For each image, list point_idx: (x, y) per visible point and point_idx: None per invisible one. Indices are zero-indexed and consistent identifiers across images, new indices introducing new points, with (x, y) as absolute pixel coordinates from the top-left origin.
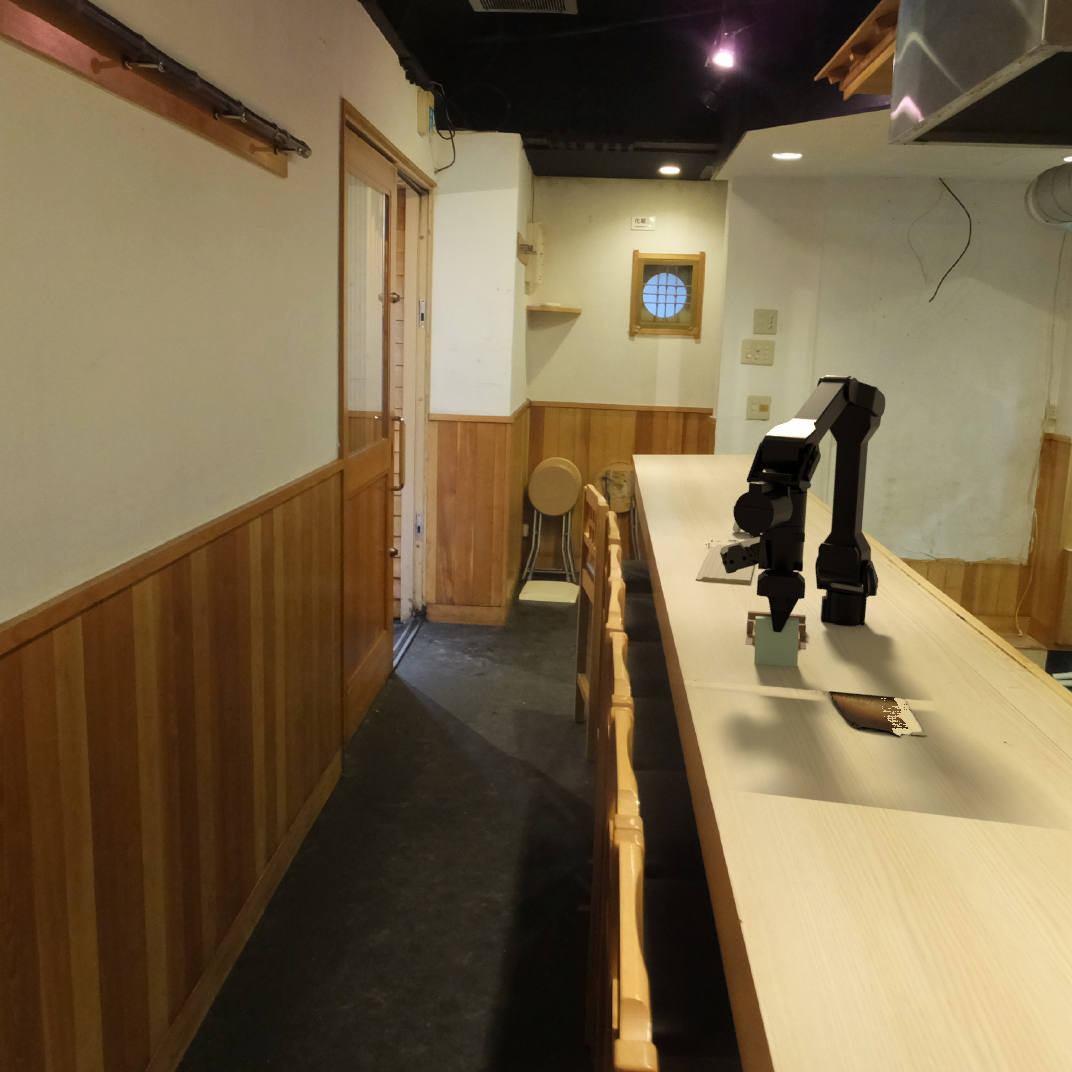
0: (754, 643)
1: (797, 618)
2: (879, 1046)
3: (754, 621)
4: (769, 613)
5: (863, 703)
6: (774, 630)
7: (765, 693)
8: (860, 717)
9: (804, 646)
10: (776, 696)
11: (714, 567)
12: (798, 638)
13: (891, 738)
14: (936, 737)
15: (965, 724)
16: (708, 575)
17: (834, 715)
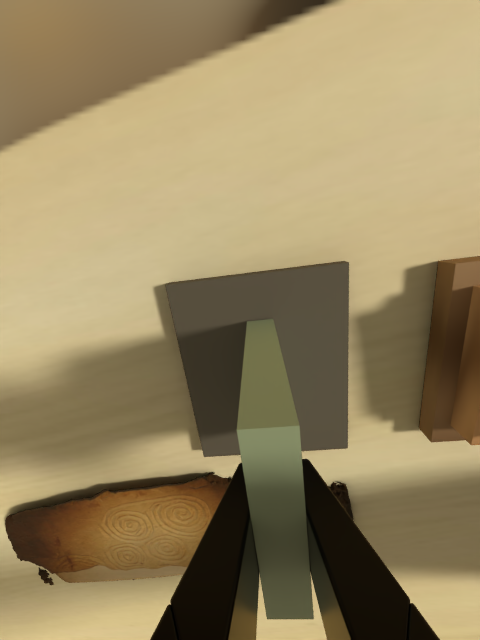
0: (467, 295)
1: (303, 615)
2: None
3: None
4: None
5: (118, 531)
6: (239, 470)
7: (83, 365)
8: (40, 528)
9: (457, 437)
10: (79, 389)
11: None
12: (477, 441)
13: (10, 550)
14: (56, 592)
15: (129, 620)
16: None
17: (47, 487)
